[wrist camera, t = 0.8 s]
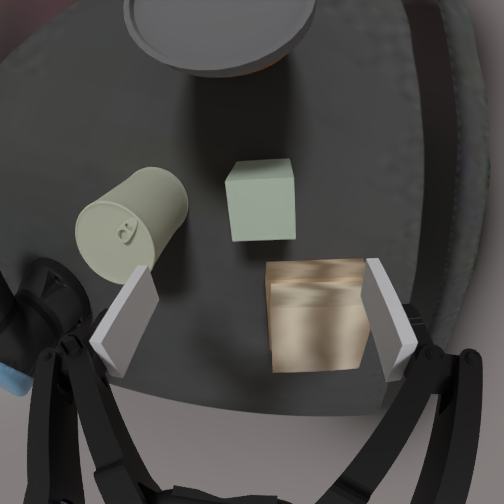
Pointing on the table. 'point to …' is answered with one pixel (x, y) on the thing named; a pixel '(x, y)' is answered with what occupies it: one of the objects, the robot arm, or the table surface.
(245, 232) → the green block
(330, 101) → the table surface
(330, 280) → the block
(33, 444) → the robot arm
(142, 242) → the can
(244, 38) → the reusable coffee cup
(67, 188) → the table surface
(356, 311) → the tower top
